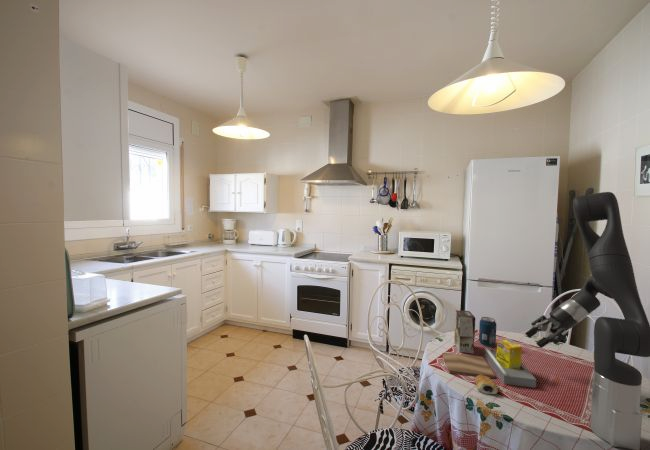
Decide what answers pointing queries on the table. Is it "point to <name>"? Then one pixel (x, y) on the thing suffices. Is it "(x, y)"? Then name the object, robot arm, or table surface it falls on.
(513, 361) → the supplement box
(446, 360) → the tan flat board
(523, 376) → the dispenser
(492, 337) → the soda can
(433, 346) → the table surface
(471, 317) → the coffee box
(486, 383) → the pastry
